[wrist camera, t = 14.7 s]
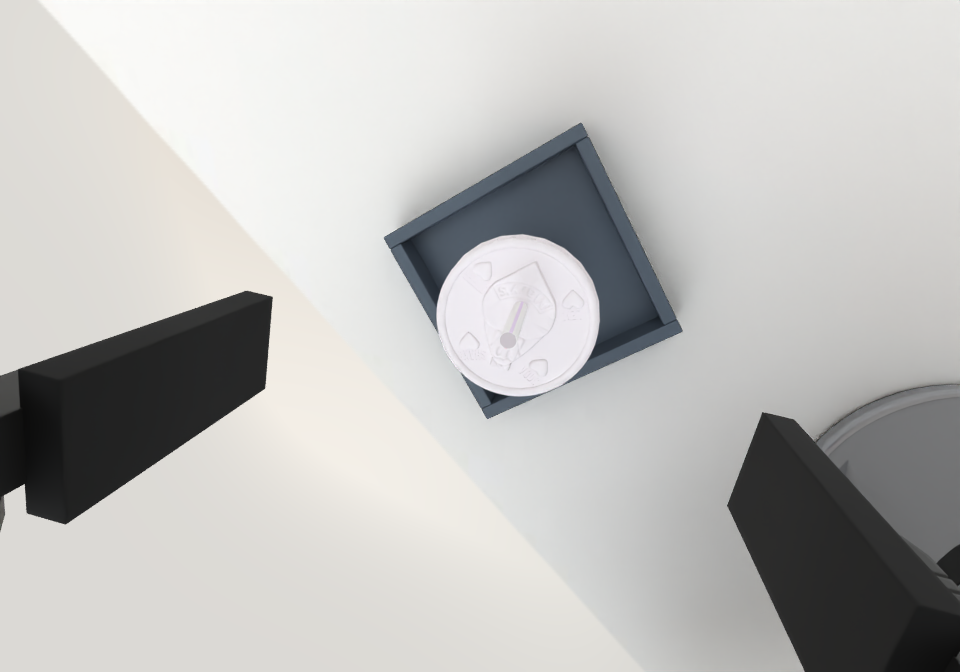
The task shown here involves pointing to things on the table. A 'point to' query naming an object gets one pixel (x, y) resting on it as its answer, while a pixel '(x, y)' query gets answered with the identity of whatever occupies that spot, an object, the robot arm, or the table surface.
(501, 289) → the smoothie
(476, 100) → the table surface
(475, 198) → the tray
